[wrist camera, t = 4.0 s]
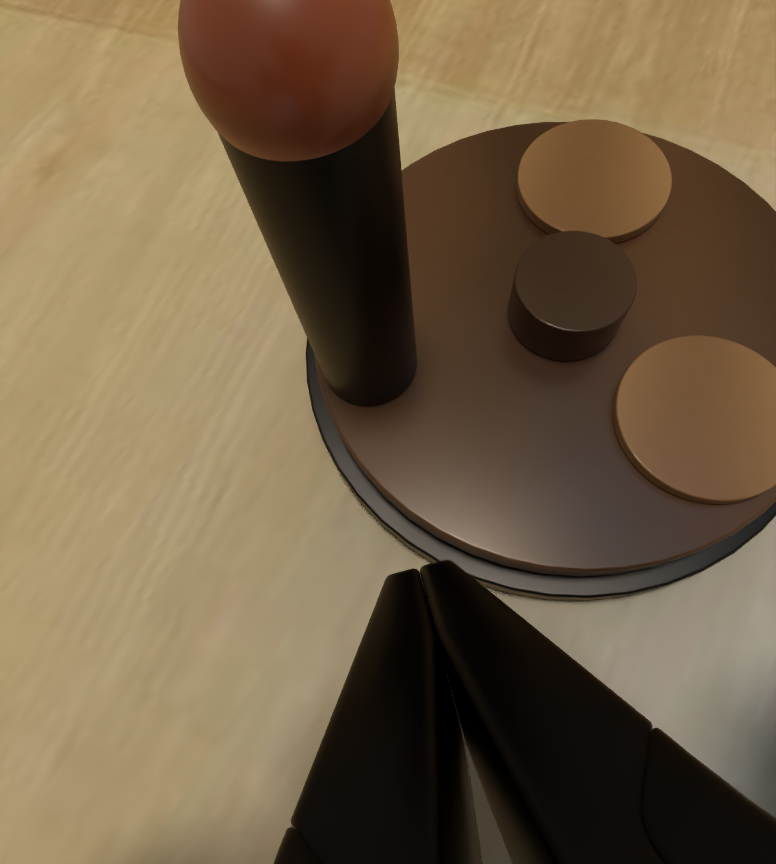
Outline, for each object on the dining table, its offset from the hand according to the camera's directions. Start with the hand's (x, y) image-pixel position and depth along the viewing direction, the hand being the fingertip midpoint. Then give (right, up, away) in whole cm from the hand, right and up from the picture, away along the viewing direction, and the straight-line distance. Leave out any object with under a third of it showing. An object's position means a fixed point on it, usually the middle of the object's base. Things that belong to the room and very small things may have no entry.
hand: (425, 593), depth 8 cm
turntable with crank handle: (+4, +5, +9) cm, 12 cm away
